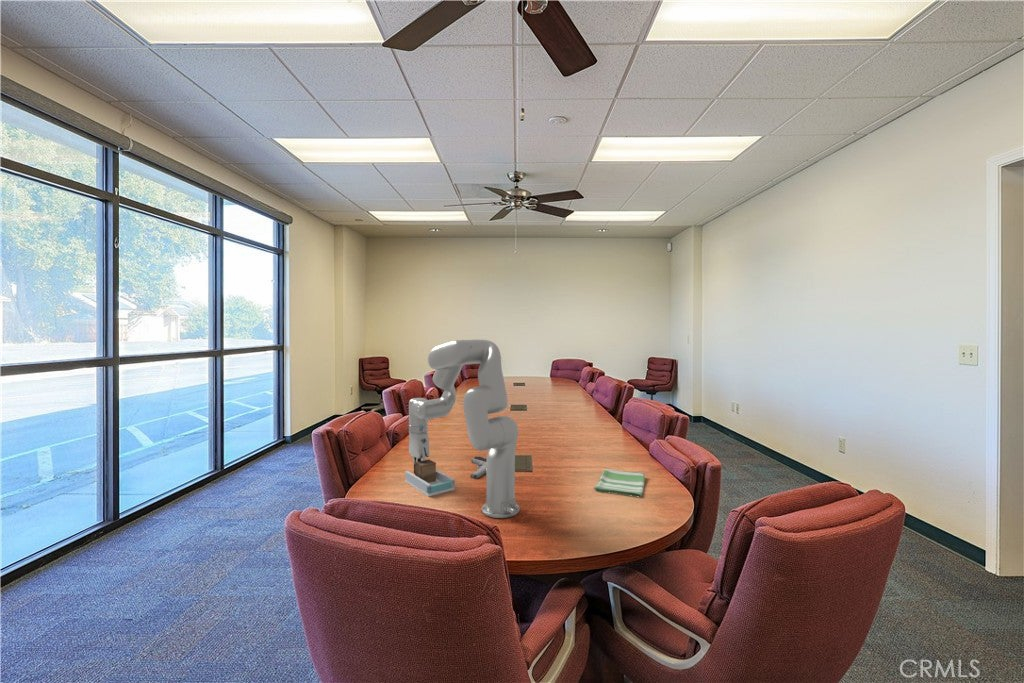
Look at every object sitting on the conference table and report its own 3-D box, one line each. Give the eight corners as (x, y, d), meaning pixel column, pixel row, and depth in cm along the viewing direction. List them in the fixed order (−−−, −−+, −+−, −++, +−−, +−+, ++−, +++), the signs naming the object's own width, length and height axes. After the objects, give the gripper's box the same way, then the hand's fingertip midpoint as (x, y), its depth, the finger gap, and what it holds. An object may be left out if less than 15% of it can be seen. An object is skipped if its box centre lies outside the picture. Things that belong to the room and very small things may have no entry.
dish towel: (592, 492, 165) (592, 485, 165) (603, 473, 187) (603, 467, 187) (641, 499, 159) (641, 491, 159) (646, 479, 181) (646, 472, 181)
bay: (454, 489, 166) (454, 479, 166) (428, 496, 159) (428, 485, 159) (430, 475, 182) (430, 466, 182) (405, 481, 175) (405, 471, 175)
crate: (436, 480, 173) (436, 462, 172) (421, 484, 169) (421, 465, 169) (428, 476, 177) (428, 459, 177) (414, 479, 174) (414, 461, 173)
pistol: (476, 454, 205) (503, 457, 199) (476, 460, 205) (503, 464, 200) (449, 469, 184) (478, 474, 178) (449, 476, 184) (478, 481, 178)
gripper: (435, 430, 174) (435, 476, 174) (418, 424, 186) (418, 467, 186) (417, 433, 169) (417, 480, 170) (402, 426, 181) (402, 470, 182)
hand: (418, 473), depth 178 cm, fingers closed
